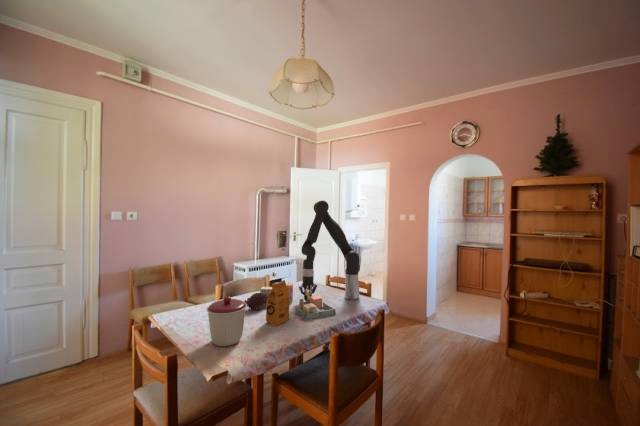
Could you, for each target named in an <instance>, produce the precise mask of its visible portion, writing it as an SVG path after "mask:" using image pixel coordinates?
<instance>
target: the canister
mask: <svg viewBox="0 0 640 426" xmlns="http://www.w3.org/2000/svg"><path fill="white" fill-rule="evenodd" d="M247 308H248V306H247V304H246V303H245V302H244V301H243V300H242V299H235V298H232V297H231V296H229V295H227V296H225V297H223V299H221V300H217V301H214V302H212V303H211V304H209V305H207V307H206V309H205V310H206V312H207V313H208V315H207V316H208V323H209V332H210V338H211V342H212V344H214V346H217V347H230V346H233V345H235V344H237V343H238V342H240V340H241V339H242V337H243V332H244V325H245V324H244V323H245V316H246V309H247Z"/></svg>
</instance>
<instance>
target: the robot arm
mask: <svg viewBox="0 0 640 426" xmlns="http://www.w3.org/2000/svg"><path fill="white" fill-rule="evenodd" d="M329 208H330V207H329V203H328V202H327V201H326V200H319V201H317V202H315V203H314V205H313V210H314V212H315V216H314V219H313V222H312V224H311V225H310V228H309V229H308V233H307V237H306V239H305V240H304V242H303V244H302V246H301V253H302V255H303V256H306V258H305V259H304V260H303V261H302V284H301V285H299V286H298V289H299V291H300V293H301V295H303V301H305V302H306V301H307V292H310V297H312V296H313V294H315V292H316V290H317V288H318V285H317V284H316V283H314V277H315V276H314V275H315V273H314V261H315V257H316V254H317V251H316V248H315V247H314V246H313V245H314V244H316V243H317V241H318V237H319V234H320V231H321V227H322V225H324V227H325V229H326V230H327V232H328V234H329V236H330V237H331V239H332V240H333V241H334V243H335V244H336V246H337V248H339V249H340V251H341V253H342V256H343V257H344V259H345V261H346V268H345V270H344V271H345V274H344V275H345V276H344V279H345V280H344V282H345V283H344V286H345V287H344V298H345V299H347V300H357V299H360V284H359V271H360V260H361V259H360V255H359V253H358V252H356V251H354V250H355V249H353V248H352V246H351V245H350V244H349V242H348V240H347V237H346V234H345V232H344V231H343V229H342V227H341V225H340V224H338V222H337V221H336V220H334V218H332V217H331V215H330V213H329Z"/></svg>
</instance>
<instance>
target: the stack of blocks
mask: <svg viewBox="0 0 640 426" xmlns="http://www.w3.org/2000/svg"><path fill="white" fill-rule="evenodd" d="M286 285H287V288H288V291H289V303H290V304H292V303H293V300H294V299H293V297H294V294H293V293H294V283H293V282H286ZM271 289H272V286H261V288H260V292H259V293H263V294H266V296H269V294H270V293H271Z"/></svg>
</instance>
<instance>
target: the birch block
mask: <svg viewBox="0 0 640 426" xmlns="http://www.w3.org/2000/svg"><path fill="white" fill-rule="evenodd" d="M298 303H299V304H298V305H299V306H298V308H299V309H301V310H302V311H303V312H304V313H306V314H307V313H313V312H317V306H315V305H314V304H312V303H311V304H310V303H305V304H304V298H300V299H299V302H298Z"/></svg>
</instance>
